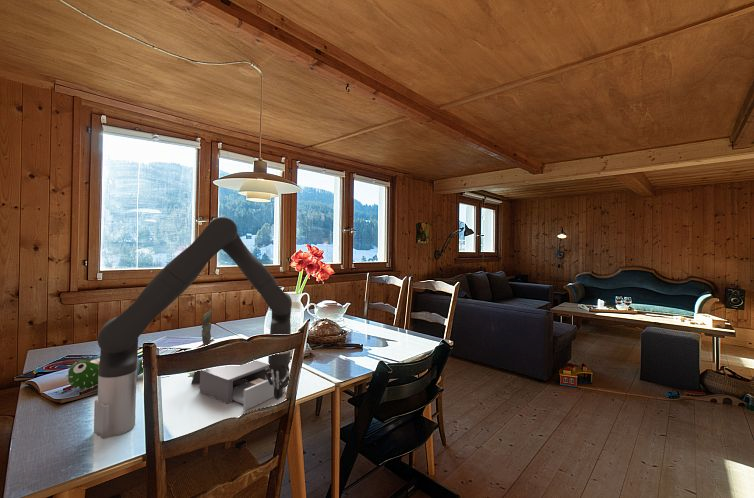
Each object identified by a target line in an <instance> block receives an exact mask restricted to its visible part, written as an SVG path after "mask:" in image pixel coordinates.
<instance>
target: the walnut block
mask: <svg viewBox="0 0 754 498" xmlns="http://www.w3.org/2000/svg"><path fill="white" fill-rule="evenodd" d="M263 381H266V380H263V379H260V378H259V379H256V380H254V381H251V382H250V386H249V387H251V386H254V385H256V384H258V383H261V382H263Z"/></svg>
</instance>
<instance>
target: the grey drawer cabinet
mask: <svg viewBox="0 0 754 498" xmlns="http://www.w3.org/2000/svg"><path fill="white" fill-rule="evenodd" d="M269 365H270V364H269V363H267V362H262V361H259V360H256V361H253V362H251V363H248V364H245V365H240V366H225V367H217V368H211V369H206V370H201V371H200V384H199V393H201V394H203V395H205V396H207V397H210V398H212V399H215V400H217V401H220V402H222V403H224V402H225V403H224V404H226V403H228V404H231V403H233V400H232V392H233V388H234V387H233V386H234V382H235V381H238V380H243V381H246V382H250V381H252V380H256V379H259V378H260V379H263V380H268V379H267V377H266V375H265V372H264V370H265V369H267V368H269Z"/></svg>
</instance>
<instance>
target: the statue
mask: <svg viewBox="0 0 754 498" xmlns="http://www.w3.org/2000/svg"><path fill="white" fill-rule="evenodd" d="M213 310H214V308H213V307H211V308H210V309H209V311H207V312H205V313H204V314H203V315H202V316H201V319H202V321H201V324H202V326H201V328H202V330H201V337H202V338H201V339H202V340H201V341H202V345H203V347H204V346H205V345H208V344H211V339H212V334H211V329H212V322H210V320H211V318H212V313H213ZM190 384H191V385H200V371H197V372H195V371H194V373H193V376H192V379H191V383H190Z"/></svg>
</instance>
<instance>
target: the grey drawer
mask: <svg viewBox="0 0 754 498" xmlns="http://www.w3.org/2000/svg"><path fill="white" fill-rule="evenodd" d="M271 380H272V378H271ZM252 381H254V380H252ZM250 382H251V381H250ZM250 382H248V381H246V383H242V384H240V385H237V386H235V387H233V392H232V401H234V402H237V403H239V404H242V408H243V411H244V412H246V411H247V410H250V409H251V408H254V407H256V406H258V405H260V404H262V403H264V402H266V401H268V400H270V399H273V398H274V388H273V385H270V384H269V381H268V380H266V381H263V382H261V383H258V384H256V385H254V386H251V387H249V386H250ZM280 384H281V383H280ZM286 391H287V387H285V388H283V393H284V392H286Z"/></svg>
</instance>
